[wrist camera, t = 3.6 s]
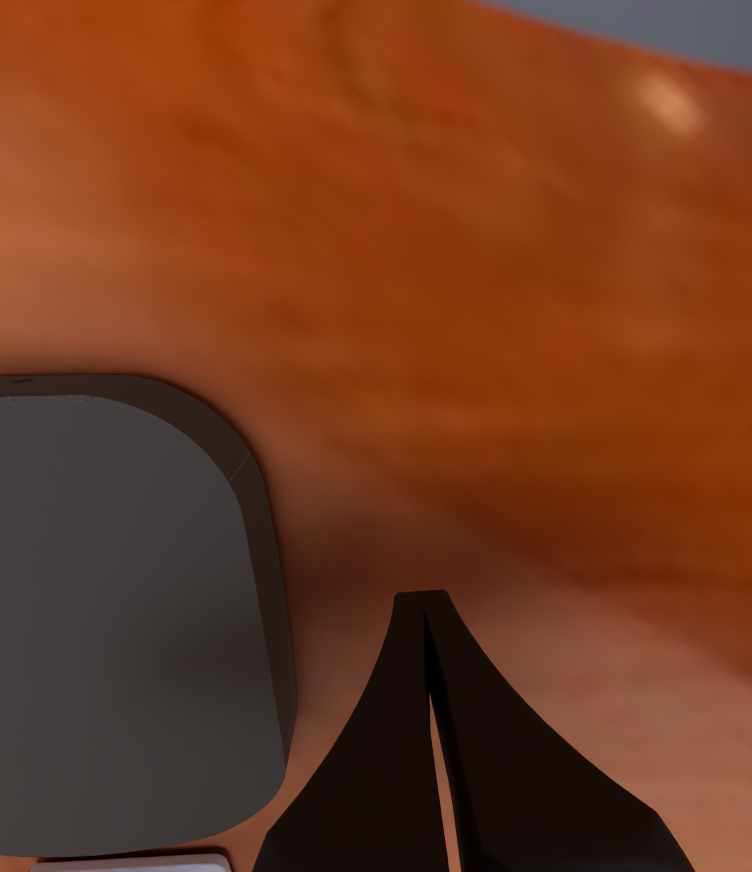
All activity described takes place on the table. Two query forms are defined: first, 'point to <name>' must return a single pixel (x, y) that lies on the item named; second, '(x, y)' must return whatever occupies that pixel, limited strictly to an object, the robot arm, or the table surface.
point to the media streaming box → (134, 620)
